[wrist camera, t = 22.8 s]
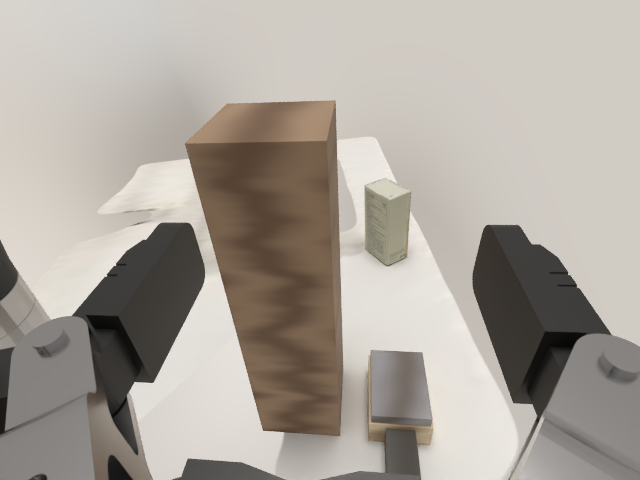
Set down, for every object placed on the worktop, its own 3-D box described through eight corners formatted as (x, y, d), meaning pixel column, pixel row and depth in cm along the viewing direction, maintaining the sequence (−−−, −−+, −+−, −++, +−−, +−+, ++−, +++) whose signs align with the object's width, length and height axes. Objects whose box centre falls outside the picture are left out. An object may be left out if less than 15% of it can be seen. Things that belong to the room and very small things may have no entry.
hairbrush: (369, 544, 30) (370, 525, 28) (368, 371, 44) (368, 348, 41) (444, 553, 30) (452, 533, 27) (420, 374, 43) (423, 351, 41)
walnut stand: (263, 430, 39) (185, 143, 21) (277, 365, 45) (227, 103, 27) (339, 435, 38) (326, 140, 20) (343, 368, 44) (335, 100, 26)
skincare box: (407, 257, 61) (414, 191, 54) (386, 267, 59) (390, 200, 52) (383, 239, 65) (386, 176, 58) (362, 248, 64) (363, 184, 57)
